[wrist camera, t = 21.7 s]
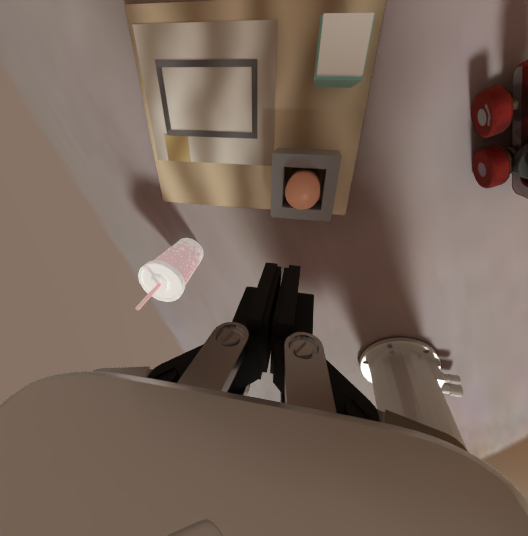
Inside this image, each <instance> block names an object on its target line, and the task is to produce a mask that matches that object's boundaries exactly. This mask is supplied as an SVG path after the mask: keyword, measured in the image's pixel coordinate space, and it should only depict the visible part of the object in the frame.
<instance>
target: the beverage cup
mask: <svg viewBox="0 0 528 536" xmlns="http://www.w3.org/2000/svg"><path fill="white" fill-rule="evenodd" d="M202 258H203V250H202V247H201V246H200V244H199V243H198V242H196V241H195V240H193V239H190V238H182V239H180V240H179V241H178V242H177V243H175V244H174V245H173V246H171V247H170V248H169V249H168V250H166V251H165V252H164V253H162V254H161V255H160V256H159V257H157V258H156V259H155V260H153V261H149V262H148V263H146V264H145V265H144V266H143V267H141V268H140V271H139V274H138V277H139V282H140V284H141V286H142V287H143V289H144V290H145V291H146V292H147V293H148V295H147V296H146V297H145V298H144V299H143V300H142V301H141V302H140V303H139V304H138V306H137V307H136V308H135V309H136V310H140V308H141V307H142V306H143V305H144V304H145V303H146V302H147V301H148V299H149V298H150V297H151V296H152V297H154V298H156V299H157V300H161V301H165V302H170V301H175V300H177V299H178V298H180V296H181V295H182V293H183V291H184V289H185V285H186V284H187V282H188V280H189V279H190V277H191V276H192V274H193V273H194V271H195V269H196V268H197V266H198V265H199V263H200V261H201V260H202Z"/></svg>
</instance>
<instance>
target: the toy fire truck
mask: <svg viewBox="0 0 528 536" xmlns="http://www.w3.org/2000/svg"><path fill="white" fill-rule="evenodd" d="M472 121H473V125H474V128H475V130H476V132H477V133H478V134H479V135H480V136H482V137H484V138H487V137H491V136H493V135H496V134H499V133H502V132H503V131H504V130H505V129H507V128H508V127H509V125H510V124H511V121H512V122H513V125H512V142H513V147H508V148H505V149H504V148H503V147H502V146H500V145H496V144H494V145H491V146H488V147H485V148H482V149H480V150H478V151H477V152H476V154H475V156H474V159H473V172H474V176H475V178H476V181H477V182H478V183H479V185H480V186H482V187H484V188H491V187H494V186H498V185H501V184H503V183H505V182H506V181H507V179H508V178H509V175H510V173H512V188H513V190H514V192H515V193H516V194H519V195H521V196H523V197H526V198H528V60H527V61H525V62H523V63H521V64H519V65H518V66H517V67H516V69H515V71H514V73H513V91H512V94H511V95H510V93H509V92H508V91H507V90H506V89H505V88H504V87H503V86H494V87H492V88H489V89H487V90H485V91H482V92H481V93H479V94H478V95H477V96H476V97H475V99H474V102H473V105H472Z"/></svg>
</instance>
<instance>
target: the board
mask: <svg viewBox="0 0 528 536" xmlns="http://www.w3.org/2000/svg"><path fill="white" fill-rule="evenodd" d="M385 5H386V0H212V1H190V2H169V3H147V4H125V10H126V15H127V20H128V25H129V30H130V35H131V40H132V45H133V50H134V56H135V61H136V66H137V71H138V76H139V81H140V86H141V91H142V96H143V101H144V106H145V111H146V116H147V121H148V126H149V131H150V136H151V142H152V147H153V152H154V157H155V162H156V167H157V172H158V177H159V182H160V187H161V192H162V197H163V201H165V202H178V203H191V204H204V205H217V206H230V207H243V208H256V209H269V210H271V183H272V153H273V152H274V151H275V150H276V149H277V148H292V149H317V150H339V151H340V153H341V156H342V157H341V163H340V169H339V176H338V182H337V188H336V194H335V200H334V206H333V213H332V214H334V215H346V209H347V204H348V199H349V194H350V188H351V183H352V178H353V173H354V167H355V162H356V157H357V152H358V147H359V141H360V136H361V131H362V126H363V120H364V115H365V110H366V105H367V100H368V94H369V89H370V84H371V79H372V73H373V68H374V63H375V58H376V53H377V47H378V42H379V37H380V32H381V26H382V21H383V16H384V11H385ZM324 13H374V14H375V18H374V23H373V28H372V34H371V39H370V44H369V49H368V55H367V60H366V65H365V70H364V76H363V80H362V81H361V82H359V83H358V84H356V85H354V86H353V87H351V88H340V87H315V82H314V73H315V63H316V54H317V45H318V36H319V26H320V17H321V15H323V14H324ZM295 169H297V168H296V167H288V170H287V184H288V181H289V179H290V177H291V174H292V173H293V171H294V170H295ZM314 169H315V168H314ZM315 170H316V171H317V172H318V174H319V176H320V196H319V199H320V200H321V195H322V187H323V180H324V172H325V169H315Z"/></svg>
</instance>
